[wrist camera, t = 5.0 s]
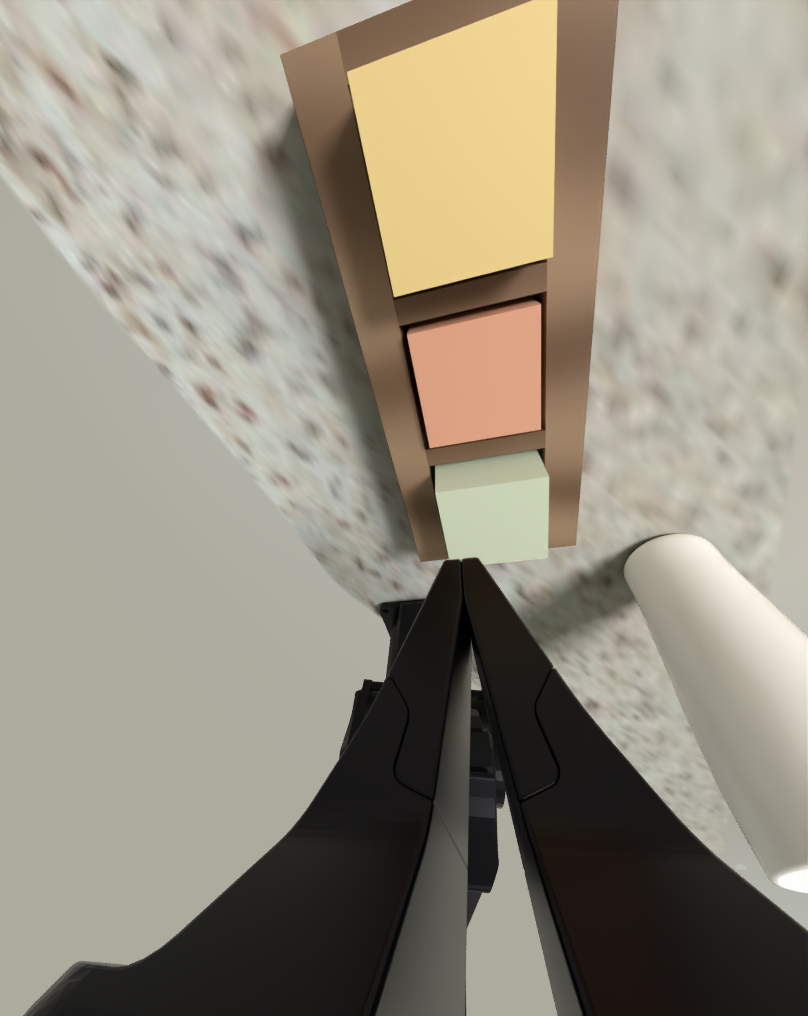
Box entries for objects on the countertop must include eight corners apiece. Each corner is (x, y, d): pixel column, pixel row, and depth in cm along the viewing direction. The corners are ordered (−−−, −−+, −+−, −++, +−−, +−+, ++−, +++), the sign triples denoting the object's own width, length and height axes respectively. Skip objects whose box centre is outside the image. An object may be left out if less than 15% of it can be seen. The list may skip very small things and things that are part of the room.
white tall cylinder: (612, 529, 23) (806, 854, 11) (736, 511, 21) (1121, 865, 9) (605, 597, 27) (744, 892, 15) (710, 586, 25) (958, 904, 13)
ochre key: (533, 253, 13) (552, 256, 11) (400, 287, 14) (394, 297, 12) (532, 42, 10) (557, -9, 8) (363, 103, 11) (346, 71, 9)
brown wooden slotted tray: (563, 517, 22) (575, 545, 20) (421, 534, 24) (420, 561, 22) (589, -27, 10) (625, -88, 8) (305, 84, 12) (279, 54, 10)
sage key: (536, 524, 21) (547, 557, 18) (449, 534, 22) (450, 567, 19) (535, 447, 18) (549, 476, 16) (435, 463, 19) (435, 492, 16)
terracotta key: (528, 406, 18) (541, 429, 16) (430, 424, 19) (429, 448, 17) (526, 294, 15) (541, 304, 13) (410, 321, 16) (406, 334, 14)
